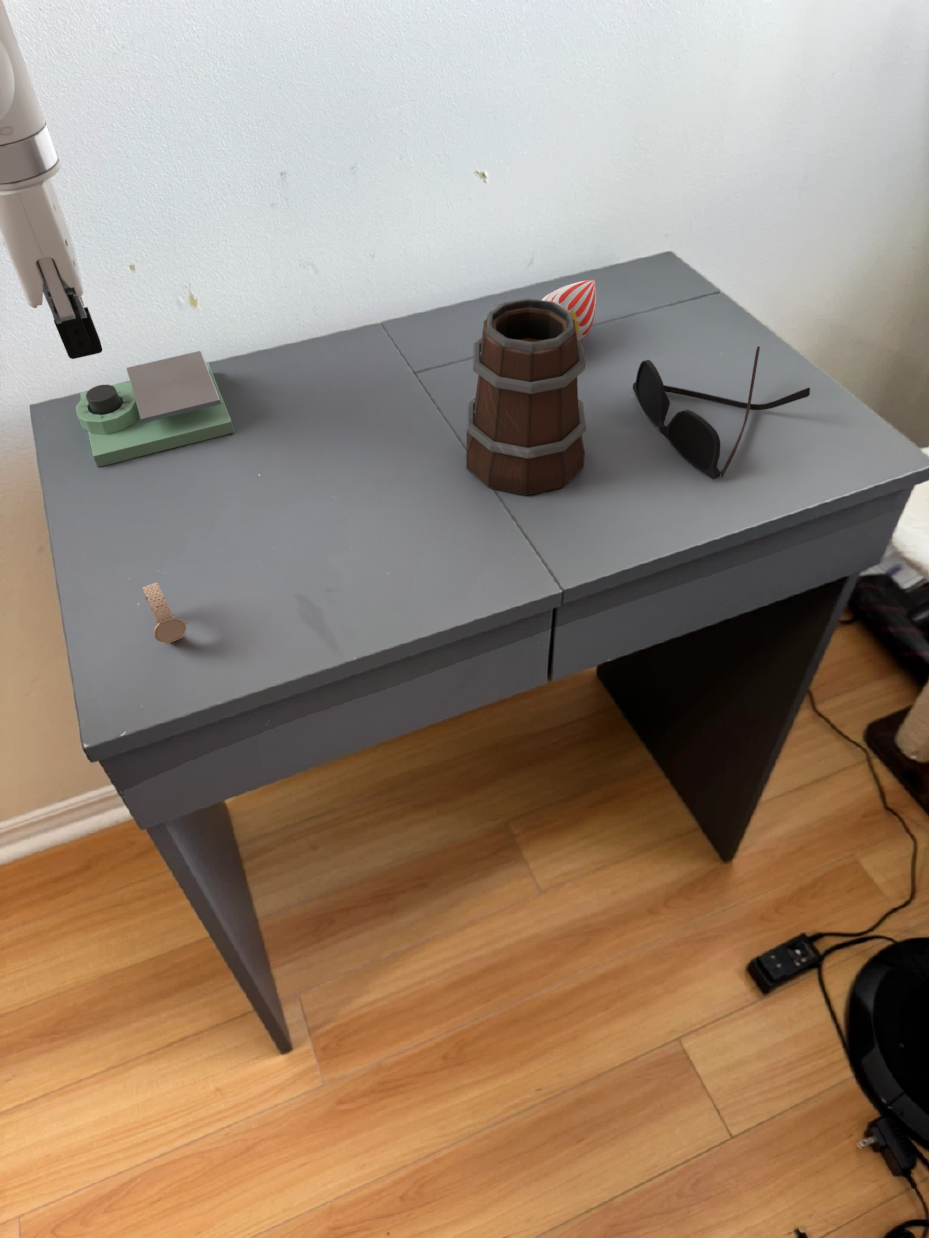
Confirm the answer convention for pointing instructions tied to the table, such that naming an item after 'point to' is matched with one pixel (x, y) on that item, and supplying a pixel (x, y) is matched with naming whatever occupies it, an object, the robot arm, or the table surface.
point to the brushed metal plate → (172, 386)
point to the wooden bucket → (526, 399)
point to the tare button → (103, 399)
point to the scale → (147, 427)
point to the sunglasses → (694, 417)
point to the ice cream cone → (577, 304)
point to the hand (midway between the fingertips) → (85, 351)
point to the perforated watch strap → (163, 616)
